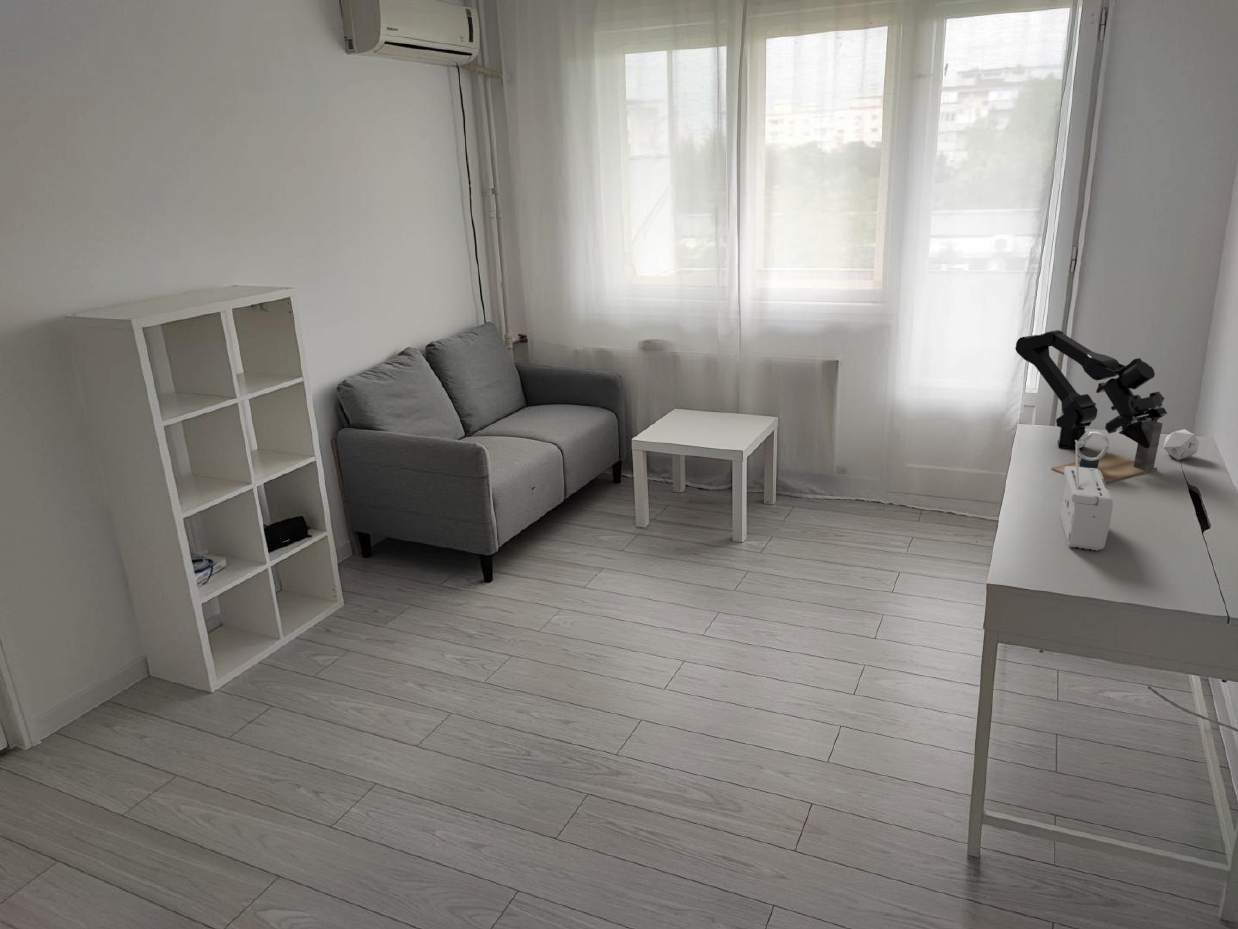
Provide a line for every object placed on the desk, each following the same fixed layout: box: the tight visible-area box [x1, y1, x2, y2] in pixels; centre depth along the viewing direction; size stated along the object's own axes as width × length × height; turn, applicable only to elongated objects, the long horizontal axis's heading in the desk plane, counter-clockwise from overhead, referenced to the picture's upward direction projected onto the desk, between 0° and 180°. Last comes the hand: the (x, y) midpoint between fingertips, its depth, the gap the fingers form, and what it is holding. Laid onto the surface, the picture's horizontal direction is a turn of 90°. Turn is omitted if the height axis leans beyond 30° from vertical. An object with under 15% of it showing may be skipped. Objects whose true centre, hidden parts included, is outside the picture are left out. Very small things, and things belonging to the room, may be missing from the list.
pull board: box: [1050, 420, 1164, 484], centre depth 244 cm, size 14×25×14 cm, turn 117°
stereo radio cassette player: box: [1060, 440, 1114, 551], centre depth 204 cm, size 21×8×20 cm, turn 160°
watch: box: [1075, 430, 1110, 469], centre depth 243 cm, size 6×8×11 cm
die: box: [1162, 428, 1200, 461], centre depth 254 cm, size 8×9×10 cm
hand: (1152, 446), depth 243 cm, fingers closed on pull board, 3 cm apart
